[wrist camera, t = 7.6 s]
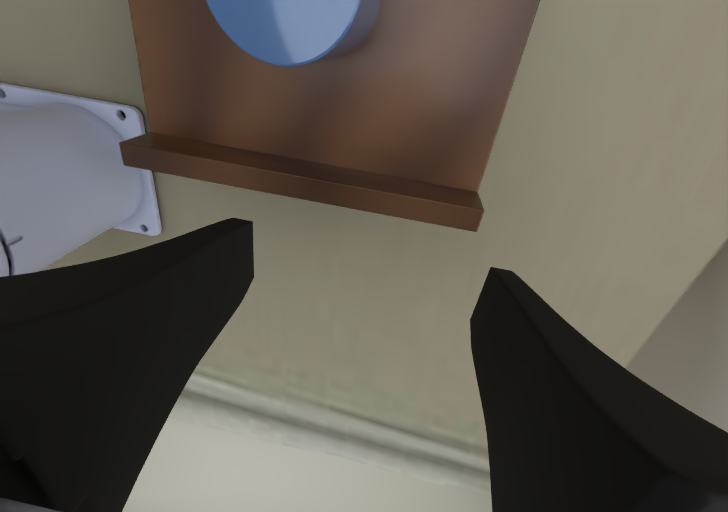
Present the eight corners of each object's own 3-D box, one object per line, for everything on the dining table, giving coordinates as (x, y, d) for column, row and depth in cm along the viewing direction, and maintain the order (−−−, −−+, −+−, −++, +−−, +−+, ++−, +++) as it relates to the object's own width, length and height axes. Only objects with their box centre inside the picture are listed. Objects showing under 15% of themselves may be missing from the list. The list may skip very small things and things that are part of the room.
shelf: (198, 134, 20) (123, 166, 15) (174, -108, 15) (48, -185, 10) (462, 183, 20) (477, 232, 15) (533, -54, 14) (594, -106, 9)
